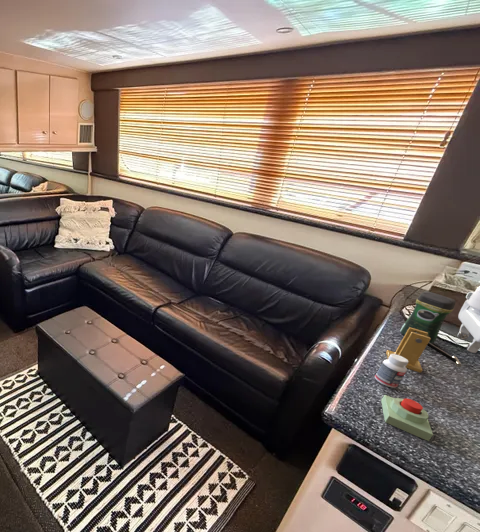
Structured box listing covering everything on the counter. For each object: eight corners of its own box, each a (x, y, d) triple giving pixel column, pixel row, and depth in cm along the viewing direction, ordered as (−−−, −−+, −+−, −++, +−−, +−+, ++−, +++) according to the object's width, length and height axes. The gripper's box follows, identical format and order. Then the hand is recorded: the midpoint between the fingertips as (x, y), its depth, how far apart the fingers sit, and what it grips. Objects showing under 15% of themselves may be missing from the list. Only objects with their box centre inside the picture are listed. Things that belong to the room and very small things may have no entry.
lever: (452, 361, 101) (460, 356, 100) (457, 368, 97) (464, 364, 96) (407, 333, 106) (414, 328, 105) (410, 339, 102) (417, 334, 101)
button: (399, 401, 83) (402, 396, 82) (418, 408, 81) (421, 403, 80) (401, 409, 80) (404, 403, 79) (420, 417, 78) (424, 411, 77)
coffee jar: (435, 342, 122) (461, 299, 115) (429, 346, 118) (455, 302, 111) (403, 329, 130) (425, 288, 123) (395, 333, 126) (418, 291, 119)
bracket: (416, 362, 107) (434, 333, 103) (420, 373, 102) (439, 342, 97) (385, 352, 111) (401, 323, 107) (388, 361, 106) (404, 331, 102)
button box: (380, 400, 88) (387, 389, 86) (420, 416, 83) (428, 405, 82) (384, 422, 80) (392, 410, 79) (428, 441, 76) (437, 429, 74)
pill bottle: (391, 390, 92) (406, 365, 89) (370, 378, 97) (383, 354, 93) (400, 386, 94) (415, 361, 91) (379, 374, 99) (392, 351, 96)
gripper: (525, 322, 82) (493, 365, 87) (496, 297, 97) (470, 335, 102) (489, 313, 85) (460, 354, 90) (466, 290, 101) (443, 327, 106)
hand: (465, 344), depth 97 cm, fingers open, 8 cm apart
